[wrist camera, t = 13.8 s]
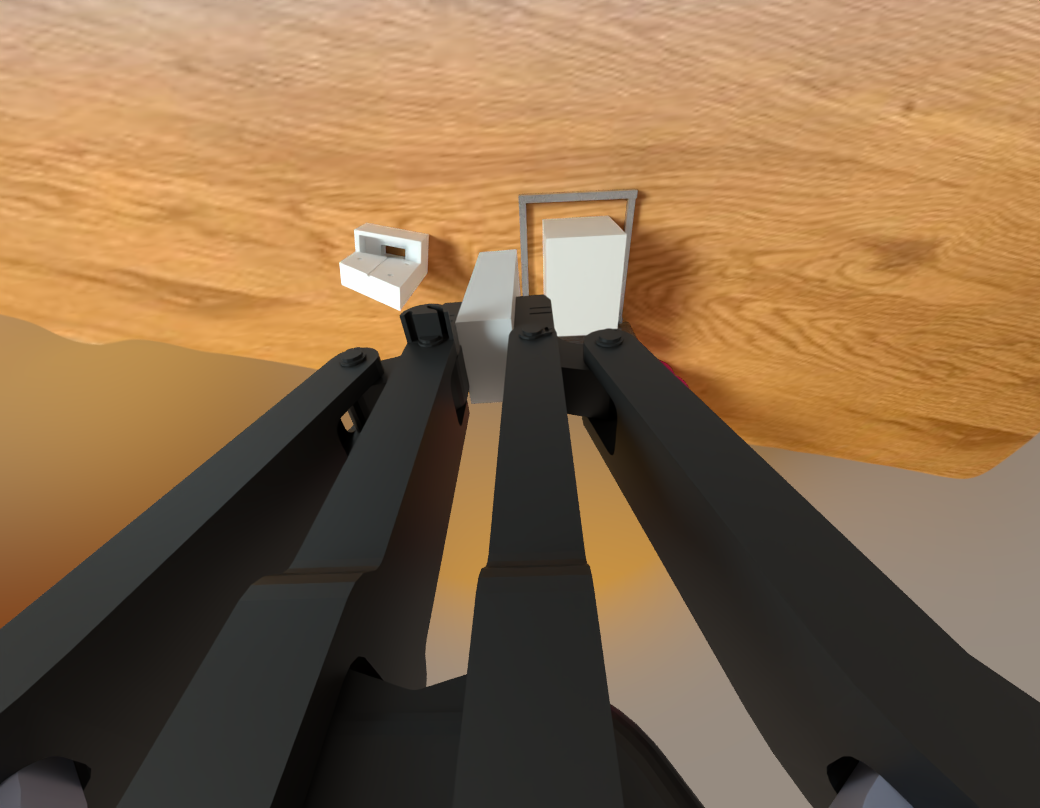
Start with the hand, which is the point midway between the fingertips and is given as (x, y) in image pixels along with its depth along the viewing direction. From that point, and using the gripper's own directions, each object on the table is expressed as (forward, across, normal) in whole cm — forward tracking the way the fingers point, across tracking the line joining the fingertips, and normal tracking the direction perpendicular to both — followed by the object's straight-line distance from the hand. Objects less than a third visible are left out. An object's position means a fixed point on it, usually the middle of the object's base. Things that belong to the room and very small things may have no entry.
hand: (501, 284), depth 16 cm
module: (+22, +5, -6) cm, 24 cm away
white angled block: (+23, -12, -4) cm, 26 cm away
